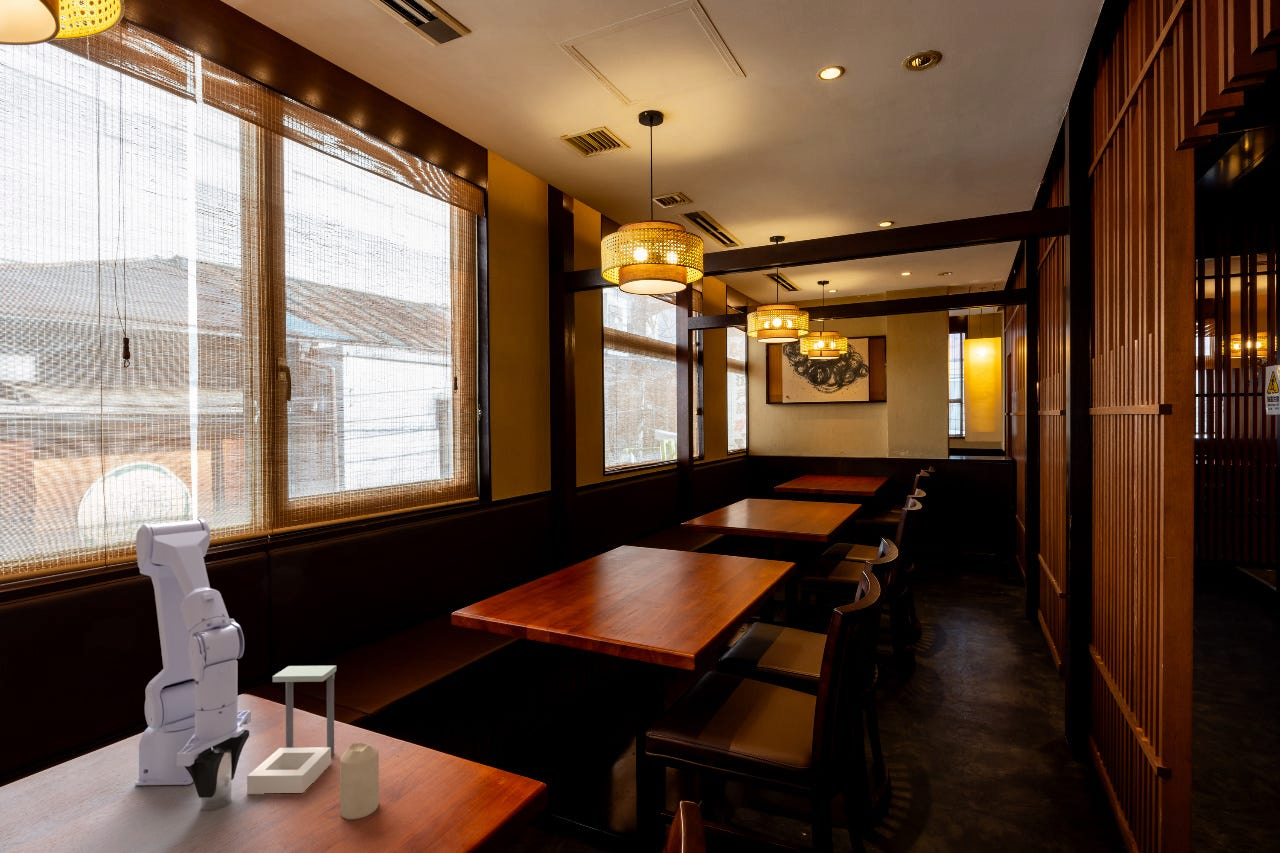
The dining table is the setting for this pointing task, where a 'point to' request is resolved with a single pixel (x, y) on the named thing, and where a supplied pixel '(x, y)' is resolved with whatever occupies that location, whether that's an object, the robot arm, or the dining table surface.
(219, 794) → the peg
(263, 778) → the socket block
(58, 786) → the dining table surface
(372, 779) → the candle
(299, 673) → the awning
